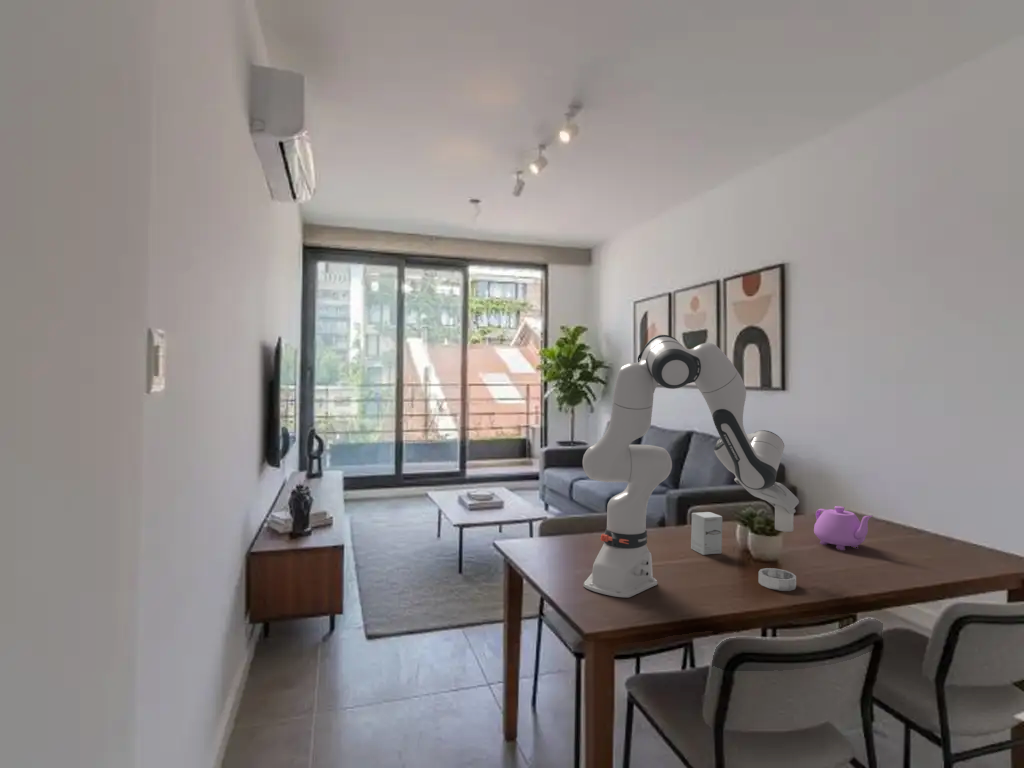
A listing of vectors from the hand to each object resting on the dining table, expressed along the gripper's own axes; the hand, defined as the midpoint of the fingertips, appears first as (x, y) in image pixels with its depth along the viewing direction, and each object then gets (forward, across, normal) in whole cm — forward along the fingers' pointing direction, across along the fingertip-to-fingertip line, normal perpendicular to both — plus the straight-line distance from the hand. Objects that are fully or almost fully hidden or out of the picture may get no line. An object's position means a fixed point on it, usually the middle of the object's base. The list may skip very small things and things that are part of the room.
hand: (786, 509), depth 165 cm
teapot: (+40, +24, -13) cm, 49 cm away
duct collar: (+8, -8, +19) cm, 22 cm away
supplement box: (+4, +23, +23) cm, 33 cm away
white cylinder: (+4, 0, +4) cm, 6 cm away
